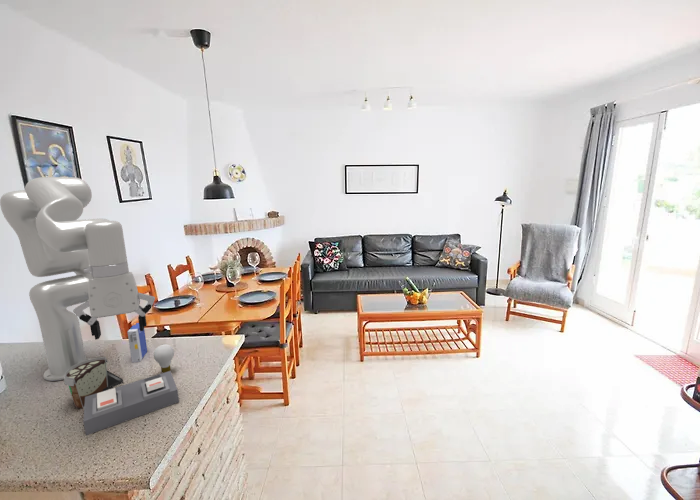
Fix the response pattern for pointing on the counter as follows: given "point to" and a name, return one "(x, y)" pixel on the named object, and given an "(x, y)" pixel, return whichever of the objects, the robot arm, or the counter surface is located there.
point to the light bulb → (164, 356)
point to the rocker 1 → (106, 399)
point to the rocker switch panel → (130, 403)
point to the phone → (112, 380)
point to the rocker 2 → (154, 384)
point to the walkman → (137, 343)
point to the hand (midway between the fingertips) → (120, 333)
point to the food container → (86, 379)
